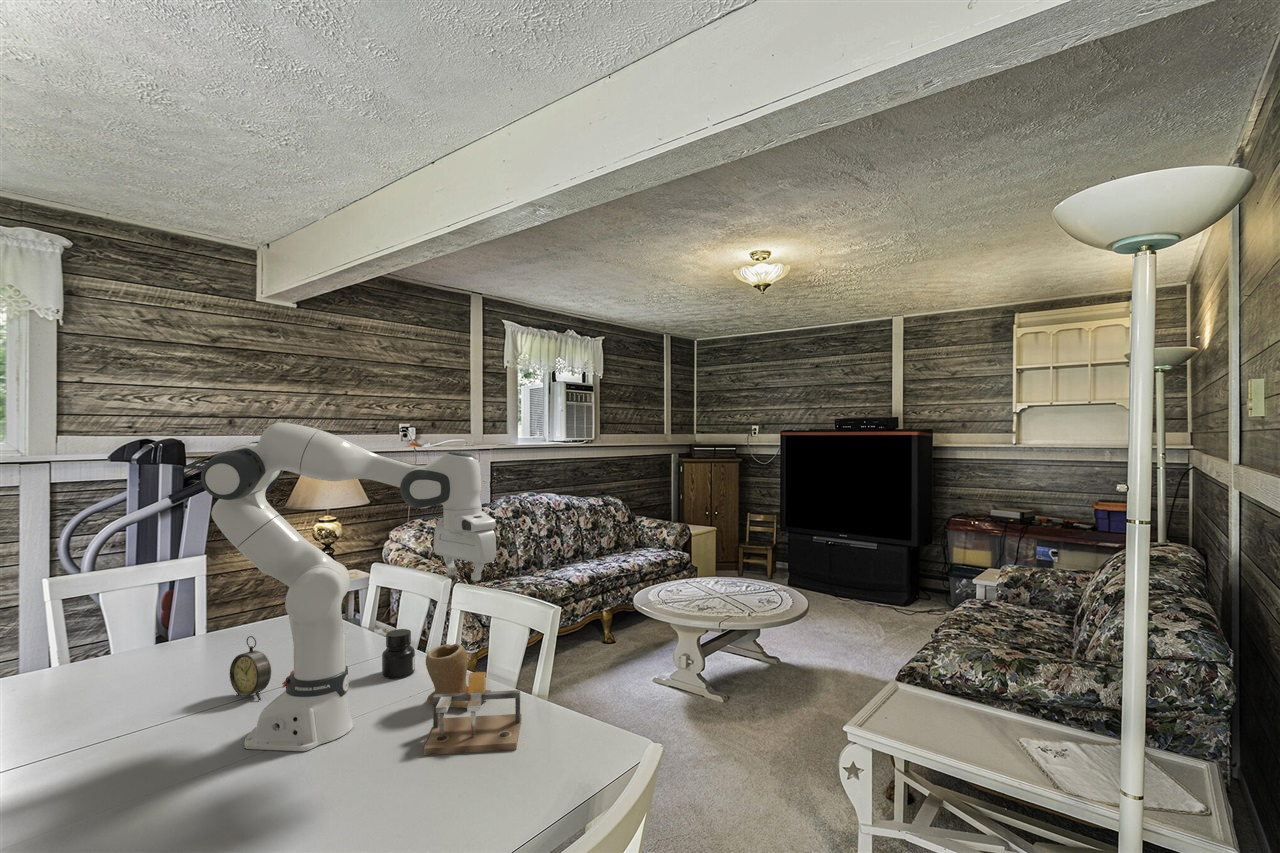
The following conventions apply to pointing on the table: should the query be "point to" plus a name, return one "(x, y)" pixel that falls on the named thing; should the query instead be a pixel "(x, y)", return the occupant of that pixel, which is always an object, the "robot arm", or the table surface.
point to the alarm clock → (250, 672)
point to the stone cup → (448, 672)
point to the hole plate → (457, 730)
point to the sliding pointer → (475, 695)
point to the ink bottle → (398, 655)
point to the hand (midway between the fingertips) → (464, 577)
